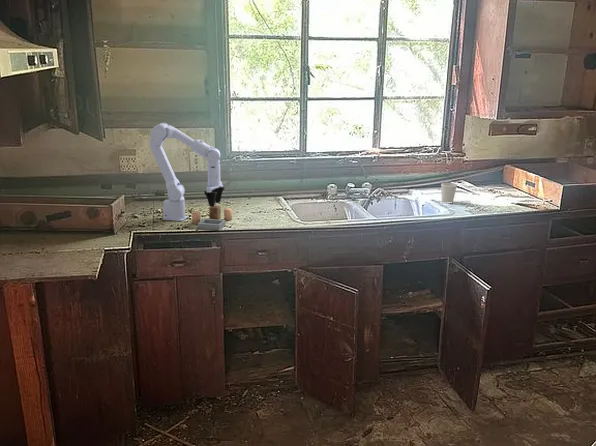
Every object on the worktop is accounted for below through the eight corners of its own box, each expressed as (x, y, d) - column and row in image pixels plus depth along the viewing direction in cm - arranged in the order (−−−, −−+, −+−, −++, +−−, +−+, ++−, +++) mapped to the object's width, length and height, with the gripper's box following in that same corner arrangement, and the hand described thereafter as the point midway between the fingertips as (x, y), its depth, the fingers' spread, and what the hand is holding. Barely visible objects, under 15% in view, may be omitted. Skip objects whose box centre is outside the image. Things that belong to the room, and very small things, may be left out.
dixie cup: (438, 203, 301) (440, 185, 298) (439, 200, 308) (441, 182, 306) (455, 205, 298) (456, 186, 296) (455, 201, 306) (457, 183, 303)
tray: (197, 228, 250) (197, 223, 250) (204, 223, 258) (204, 218, 257) (219, 230, 248) (219, 225, 248) (225, 225, 256) (225, 220, 255)
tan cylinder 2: (223, 220, 263) (222, 209, 262) (225, 218, 267) (225, 208, 265) (230, 221, 263) (230, 210, 261) (233, 218, 266) (232, 208, 265)
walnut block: (209, 220, 264) (209, 207, 262) (212, 217, 267) (212, 205, 266) (217, 220, 263) (217, 208, 261) (220, 218, 267) (220, 206, 265)
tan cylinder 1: (191, 223, 258) (190, 212, 256) (194, 221, 261) (193, 210, 259) (198, 224, 257) (198, 213, 255) (201, 222, 260) (201, 211, 259)
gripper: (216, 179, 252) (217, 208, 255) (227, 172, 265) (228, 201, 269) (201, 178, 253) (202, 207, 257) (213, 172, 267) (214, 200, 270)
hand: (214, 204), depth 263 cm, fingers open, 7 cm apart
